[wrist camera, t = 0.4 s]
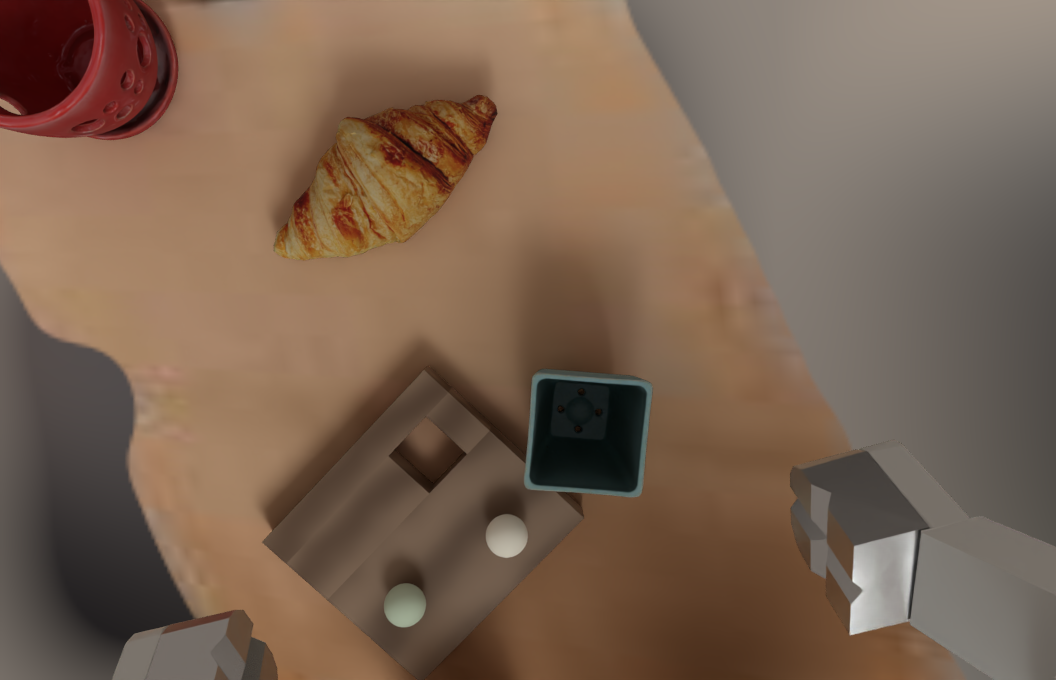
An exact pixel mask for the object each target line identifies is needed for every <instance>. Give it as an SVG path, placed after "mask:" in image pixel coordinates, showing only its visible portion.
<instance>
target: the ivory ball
mask: <svg viewBox="0 0 1056 680" xmlns="http://www.w3.org/2000/svg"><path fill="white" fill-rule="evenodd" d="M527 539H528V532H527V528H526V526H525V524H524V523H523V521H522V520H521V519H520V518H518V517H516V516H514V515H511V514H503V515H500V516H497V517H496V518H494V519H493V520H492V521H491V522H490V524H489V525H488V527H487V530H486V542H487V545H488V547H489V548H490V550H491V551H492V552H493V553H494V554H496V555H497V556H500V557H504V558H509V557H513V556H516V555H518V554H519V553H520V552H521V551H522V550H523V549H524V547H525V546H526V543H527Z"/></svg>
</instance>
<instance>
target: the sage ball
mask: <svg viewBox="0 0 1056 680" xmlns="http://www.w3.org/2000/svg"><path fill="white" fill-rule="evenodd" d="M425 609H426V599H425V596H424V594H423V592H422V591H421V589H420V588H418V587H417V586H415V585H413V584H409V583H403V584H399V585H397V586H395V587H393V588H392V589H391V590H390V591H389V592H388V594H387V596H386V598H385V601H384V612H385V615H386V617H387V619H388V620H389V621H390V622H391V623H392V624H394V625H395V626H398V627H410V626H412V625H414V624H416V623H417V622H418V621H419V620H420V619H421V618H422V616H423V615H424V612H425Z"/></svg>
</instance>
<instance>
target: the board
mask: <svg viewBox="0 0 1056 680" xmlns="http://www.w3.org/2000/svg"><path fill="white" fill-rule="evenodd" d="M425 417H427V418H429V419H430V420H431V421H432V422H433V423H434V424H435V425H436V426H437V427H438V428H439V429H440V430H442V431H443V432H444V433H445V434H446V435H447V436H448V437H449V438H450V439H451V440H452V441H454V442H455V443H456V444H457V445H458V446H459V447H460V448H461V449H462V450H463V451H464V453H463V454H462V455H461V456H460V457H459V458H458V459H457V460H456V461H455V462H454V463H453V465H452V466H451V467H450V468H449V469H448V470H447V471H446V472H445V473H444V474H443V475H442V476H441V477H440V478H439V479H438V480H437V481H436V482H435V483H434V484H432V483H431V482H430V481H429V480H428V479H427V478H426V477H425V476H424V475H423V474H421V473H420V472H419V471H418V470H417V469H416V468H415V467H414V466H413V465H412V464H411V463H409V462H408V461H407V460H406V459H405V458H404V457H403V456H402V455H401V454H400V453H398V452H397V451H396V450H395V448H396V447H397V446H398V445H399V444H400V443H401V442H402V441H403V440H404V439H405V438H406V437H407V436H408V435H409V434H410V433H411V432H412V430H413V429H414V428H415V427H416V426H417V425H418V424H419V423H420V422H421V421H422V420H423V419H424V418H425ZM525 464H526V455H524V454H523V453H522V452H521V451H520V450H519V449H518V448H517V447H516V446H515V445H514V444H513V443H511V442H510V441H509V440H508V439H507V438H506V437H505V436H504V435H503V434H502V433H501V432H500V431H499V430H497V429H496V428H495V427H494V426H493V425H492V424H491V423H490V422H489V421H488V420H487V419H486V418H485V417H483V416H482V415H481V414H480V413H479V412H478V411H477V410H476V409H475V408H474V407H473V406H472V405H470V404H469V403H468V402H467V401H466V400H465V399H464V398H463V397H462V396H461V395H460V394H459V393H458V392H456V391H455V390H454V389H453V388H452V387H451V386H450V385H449V384H448V383H447V382H446V381H445V380H443V379H442V378H441V377H440V376H439V375H438V374H437V373H436V372H435V371H434V370H433V369H432V368H431V367H429V366H427V367H426V368H425V369H424V371H423V372H422V373H421V374H420V375H419V376H418V377H417V378H416V379H415V380H414V381H413V382H412V383H411V384H410V385H409V386H408V388H407V389H406V390H405V391H404V392H403V393H402V394H401V395H400V396H399V397H398V398H397V399H396V400H395V401H394V402H393V403H392V405H391V406H390V407H389V408H388V409H387V410H386V411H385V412H384V413H383V414H382V415H381V416H380V417H379V418H378V419H377V420H376V422H375V423H374V424H373V425H372V426H371V427H370V428H369V429H368V430H367V431H366V432H365V433H364V434H363V435H362V436H361V437H360V439H359V440H358V441H357V442H356V443H355V444H354V445H353V446H352V447H351V448H350V449H349V450H348V451H347V452H346V453H345V454H344V456H343V457H342V458H341V459H340V460H339V461H338V462H337V463H336V464H335V465H334V466H333V467H332V468H331V469H330V470H329V471H328V473H327V474H326V475H325V476H324V477H323V478H322V479H321V480H320V481H319V482H318V483H317V484H316V485H315V486H314V487H313V488H312V490H311V491H310V492H309V493H308V494H307V495H306V496H305V497H304V498H303V499H302V500H301V501H300V502H299V503H298V504H297V505H296V507H295V508H294V509H293V510H292V511H291V512H290V513H289V514H288V515H287V516H286V517H285V518H284V519H283V520H282V521H281V522H280V524H279V525H278V526H277V527H276V528H275V529H274V530H273V531H272V532H271V533H270V534H269V535H268V536H267V537H266V538H265V539H264V541H263V542H262V543H263V544H265V545H266V546H267V547H268V548H269V549H270V550H271V551H272V552H274V553H275V554H276V555H277V556H278V557H279V558H280V559H281V560H283V561H284V562H285V563H286V564H287V565H288V566H289V567H291V568H292V569H293V570H294V571H295V572H296V573H297V574H298V575H300V576H301V577H302V578H303V579H304V580H305V581H306V582H307V583H309V584H310V585H311V586H312V587H313V588H314V589H315V590H317V591H318V592H319V593H320V594H321V595H322V596H323V597H324V598H326V599H327V600H328V601H329V602H330V603H331V604H332V605H334V606H335V607H336V608H337V609H338V610H339V611H340V612H341V613H343V614H344V615H345V616H346V617H347V618H348V619H349V620H350V621H352V622H353V623H354V624H355V625H356V626H357V627H358V628H360V629H361V630H362V631H363V632H364V633H365V634H366V635H367V636H369V637H370V638H371V639H372V640H373V641H374V642H375V643H376V644H378V645H379V646H380V647H381V648H382V649H383V650H384V651H386V652H387V653H388V654H389V655H390V656H391V657H392V658H393V659H395V660H396V661H397V662H398V663H399V664H400V665H401V666H403V667H404V668H405V669H406V670H407V671H408V672H409V673H410V674H412V675H413V676H414V677H415V678H416V679H417V680H424V679H425V678H426V677H427V676H428V675H429V674H430V673H431V672H432V671H433V670H434V669H435V668H436V667H437V666H438V665H439V664H440V663H441V662H442V661H443V660H444V659H445V658H446V657H447V656H448V655H449V654H450V653H451V652H452V651H453V650H454V649H455V648H456V647H457V646H458V645H459V644H460V643H461V642H462V641H463V640H464V639H465V638H466V637H467V636H468V635H469V634H470V633H471V632H472V631H473V630H474V629H475V628H476V627H477V626H478V625H479V624H480V623H481V622H482V621H483V620H484V619H485V618H486V617H487V616H488V615H489V614H490V613H491V612H492V611H493V610H494V609H495V608H496V607H497V605H498V604H499V603H500V602H501V601H502V600H503V599H504V598H505V597H506V596H507V595H508V594H509V593H510V592H511V591H512V590H513V589H514V588H515V587H516V586H517V585H518V584H519V583H520V582H521V581H522V580H523V579H524V578H525V577H526V576H527V575H528V574H529V573H530V572H531V571H532V570H533V569H534V568H535V567H536V566H537V565H538V564H539V563H540V562H541V561H542V560H543V559H544V558H545V557H546V556H547V555H548V554H549V553H550V552H551V551H552V550H553V549H554V548H555V547H556V546H557V545H558V544H559V543H560V542H561V541H562V540H563V539H564V538H565V537H566V536H567V535H568V534H569V533H570V532H571V531H572V530H573V529H574V528H575V527H576V526H577V525H578V524H579V523H580V522H581V521H582V520H583V519H584V515H583V510H582V507H581V506H580V505H578V504H577V503H576V502H575V501H574V500H573V499H572V498H571V497H570V496H569V495H568V494H567V493H565V492H561V491H559V492H558V491H544V490H530V489H527V488H526V487H525V485H524V473H525ZM503 514H511V515H514V516H516V517H518V518H520V519H521V520H522V521H523V523H524V524H525V526H526V528H527V532H528V539H527V543H526V546H525V547H524V549H523V550H522V551H521V552H520V553H519V554H518V555H516V556H513V557H509V558H504V557H500V556H497V555H496V554H494V553H493V552H492V551H491V550H490V548H489V547H488V545H487V542H486V530H487V527H488V525H489V524H490V522H491V521H492V520H493V519H494V518H496V517H497V516H500V515H503ZM403 583H409V584H413V585H415V586H417V587H418V588H420V589H421V591H422V592H423V594H424V596H425V599H426V609H425V612H424V615H423V616H422V618H421V619H420V620H419V621H418V622H417V623H416V624H414V625H412V626H410V627H398V626H395V625H394V624H392V623H391V622H390V621H389V620H388V619H387V617H386V615H385V612H384V601H385V598H386V596H387V594H388V592H389V591H390V590H391V589H392V588H393V587H395V586H397V585H399V584H403Z"/></svg>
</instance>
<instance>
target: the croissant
mask: <svg viewBox="0 0 1056 680" xmlns="http://www.w3.org/2000/svg"><path fill="white" fill-rule="evenodd" d="M496 115H497V109H496V106H495V104H494V103H493V102H492V101H491V100H490V99H489V98H488V97H484V96H482V95H476V96H475V97H473V98H471V99H470V100H468V101H467V102H464V103H461V104H459V103H456V102H452V101H445V100H434V101H426V102H425V104H424V105H421V106H418V105H415V106H412V107H411V108H410V109H408V110H403V109H394V108H393V107H392V108H389V109H387V110H385V111H382V112H380V113H378V114H376V115H373V116H371V117H369V118H367V119H364V120H363V119H360V118H353V117H347V118H344V119H343V120H342V121H341V122H340V123H339V125H338V132H337V134H336V140H337V143H335V144H334V145H333V146H332V147H331V148H330V149H329V150H328V151H327V152H326V153H325V155H324V156H323V157H322V158H321V159H320V161H319V163H318V166H317V169H316V176H315V179H314V181H313V182H312V184H311V186H310V187H309V188H308V189H307V190H306V192H305V193H304V194H303V195H302V196H301V197H300V198H299V199H298V200H297V201H296V202H295V204H294V206H293V209H292V215H291V216H290V218H289V220H288V223H287V224H285V225H284V226H283V227H282V228H281V229H280V230H279V231H278V232H277V235H276V239H275V243H274V251H275V252H276V253H277V254H278V255H279V256H282V257H284V258H290V259H296V260H308V259H314V258H332V257H335V256H337V257H338V256H341V257H350V256H354V255H358V254H362V253H365V252H366V251H368V250H369V249H372V248H374V247H375V248H376V247H379V246H382V245H384V244H386V243H393V242H398V243H403V242H406V241H407V240H408V239H409V238H410V237H411V236H412V235H414V234H415V233H416V232H417V231H418V230H419V229H420V228H421V227H422V226H423V225H424V224H425V223H426V222H427V221H428V220H429V219H430V218H431V217H432V216H433V215H434V214H436V213H437V211H438V210H439V209H440V208H441V207H442V205H443V204H444V202H445V201H446V200H447V199H448V197H449V196H450V194H451V192H452V191H453V189H454V188H455V186H456V185H457V183H458V182H459V181H460V179H461V178H462V177H463V175H464V173H465V172H466V170H467V169H468V166H469V164H470V163H471V161H472V159H473V155H476V154H477V153H478V152H479V151H480V150H481V149H482V148H483V147H484V145H485V144H486V142H487V138H488V135H489V132H490V128H491V125H492V123H493V121H494V119H495V117H496Z"/></svg>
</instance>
